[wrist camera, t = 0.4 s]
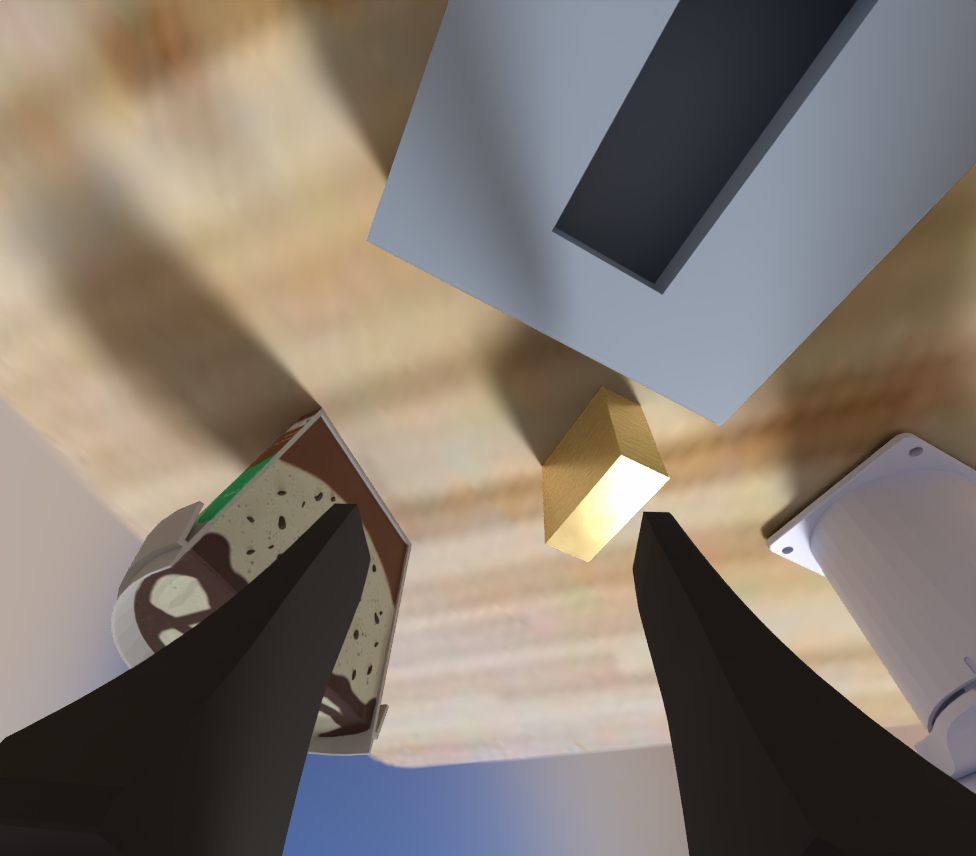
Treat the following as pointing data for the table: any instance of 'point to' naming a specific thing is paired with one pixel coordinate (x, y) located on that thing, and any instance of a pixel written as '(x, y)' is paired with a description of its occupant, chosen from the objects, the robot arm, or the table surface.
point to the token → (599, 475)
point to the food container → (255, 546)
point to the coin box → (679, 170)
